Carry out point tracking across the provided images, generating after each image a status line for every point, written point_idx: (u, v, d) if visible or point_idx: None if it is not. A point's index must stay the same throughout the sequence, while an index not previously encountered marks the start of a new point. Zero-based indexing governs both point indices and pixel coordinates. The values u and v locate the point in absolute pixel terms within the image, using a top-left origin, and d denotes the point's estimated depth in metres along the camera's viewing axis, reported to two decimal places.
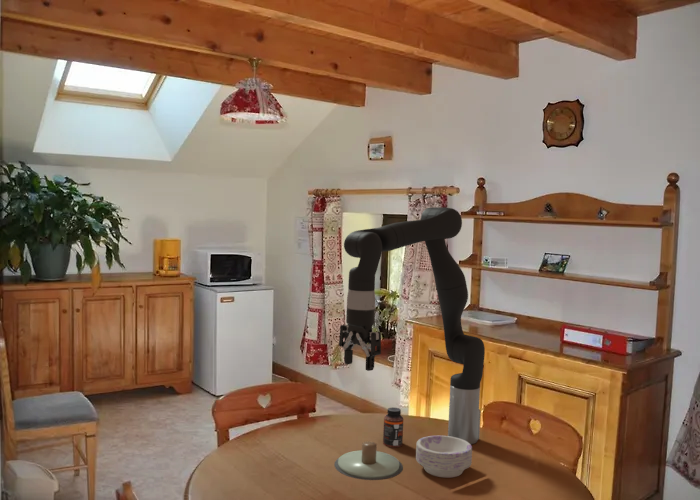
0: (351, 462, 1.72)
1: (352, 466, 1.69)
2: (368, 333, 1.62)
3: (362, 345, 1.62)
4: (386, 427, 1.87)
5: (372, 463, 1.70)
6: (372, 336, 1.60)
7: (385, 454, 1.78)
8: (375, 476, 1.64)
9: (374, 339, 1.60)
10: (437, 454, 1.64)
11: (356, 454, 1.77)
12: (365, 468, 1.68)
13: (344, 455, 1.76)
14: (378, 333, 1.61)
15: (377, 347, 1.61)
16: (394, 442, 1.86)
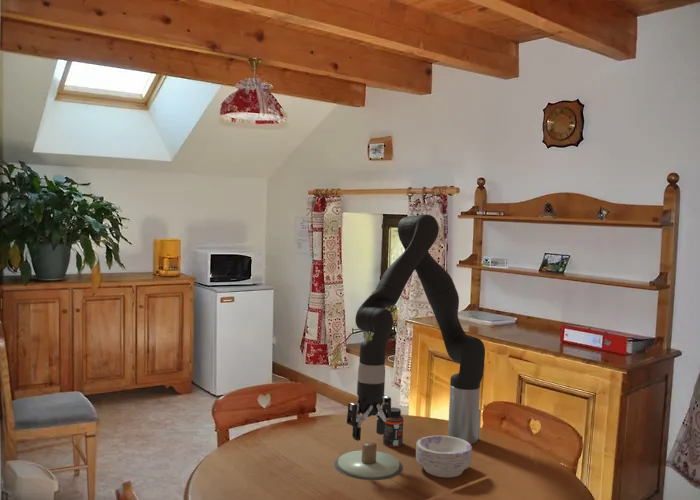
0: (351, 462, 1.72)
1: (352, 466, 1.69)
2: None
3: (381, 413, 1.72)
4: (386, 427, 1.87)
5: (372, 463, 1.70)
6: (389, 400, 1.75)
7: (385, 454, 1.78)
8: (375, 476, 1.64)
9: None
10: (437, 454, 1.64)
11: (356, 454, 1.77)
12: (365, 468, 1.68)
13: (344, 455, 1.76)
14: None
15: (384, 410, 1.76)
16: (394, 442, 1.86)
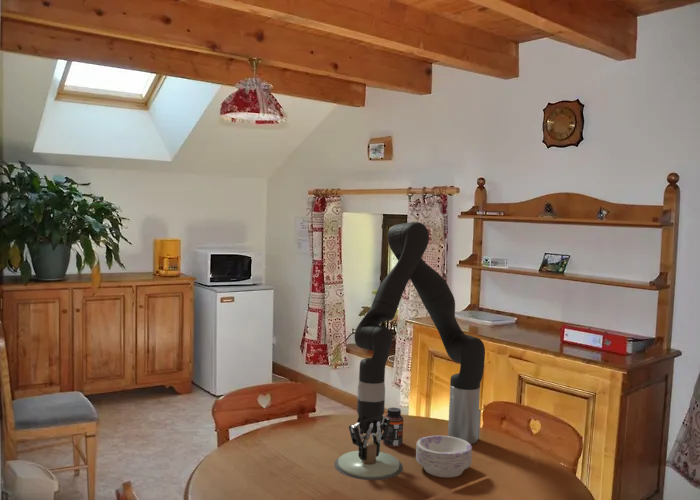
0: (351, 462, 1.72)
1: (352, 466, 1.69)
2: None
3: (379, 433, 1.72)
4: None
5: (372, 463, 1.70)
6: (388, 422, 1.75)
7: (385, 454, 1.78)
8: (375, 476, 1.64)
9: None
10: (437, 454, 1.64)
11: (356, 454, 1.77)
12: (365, 468, 1.68)
13: (344, 455, 1.76)
14: None
15: None
16: (394, 442, 1.86)
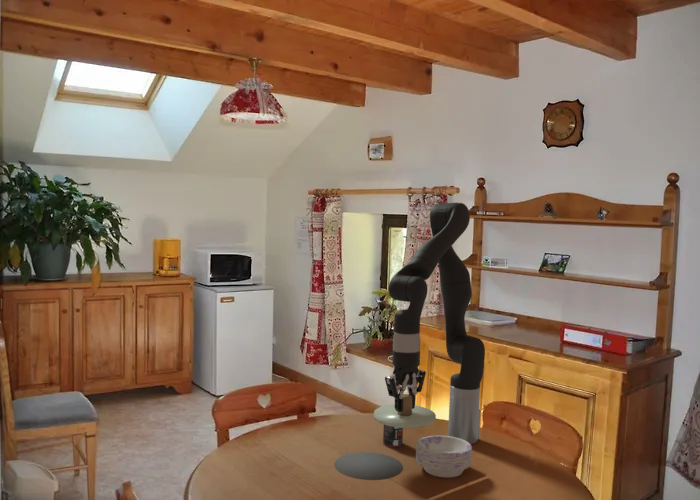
0: (387, 414, 1.71)
1: (388, 417, 1.68)
2: None
3: (415, 385, 1.71)
4: (386, 427, 1.87)
5: (408, 415, 1.70)
6: (424, 374, 1.74)
7: (420, 407, 1.77)
8: (412, 426, 1.63)
9: None
10: (437, 454, 1.64)
11: (391, 407, 1.77)
12: (402, 419, 1.67)
13: (379, 408, 1.76)
14: None
15: None
16: (394, 442, 1.86)
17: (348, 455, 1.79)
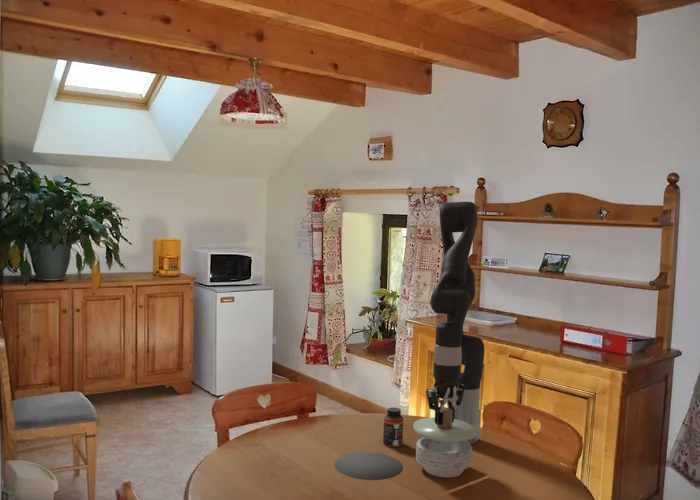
0: (427, 427, 1.70)
1: (429, 431, 1.67)
2: None
3: (455, 398, 1.70)
4: (386, 427, 1.87)
5: (448, 428, 1.69)
6: (463, 388, 1.73)
7: (458, 421, 1.76)
8: (454, 440, 1.62)
9: None
10: (437, 454, 1.64)
11: (430, 420, 1.76)
12: (443, 433, 1.66)
13: (418, 421, 1.75)
14: None
15: None
16: (394, 442, 1.86)
17: (348, 455, 1.79)
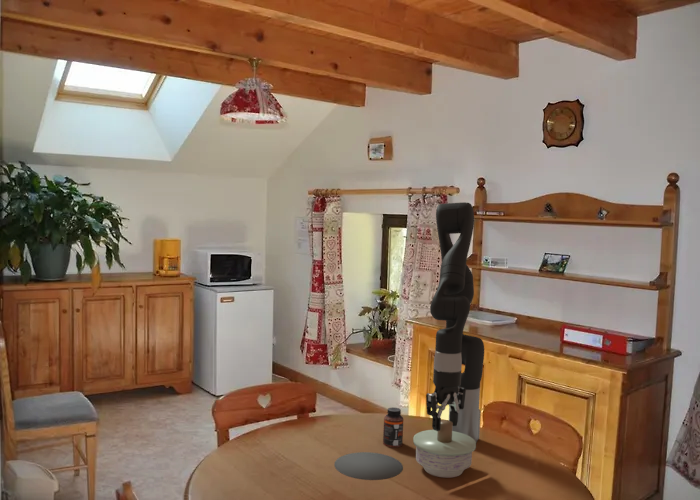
0: (427, 440, 1.70)
1: (429, 444, 1.67)
2: None
3: (457, 403, 1.71)
4: (386, 427, 1.87)
5: (449, 441, 1.69)
6: (464, 391, 1.73)
7: (459, 433, 1.76)
8: (454, 454, 1.63)
9: None
10: None
11: (430, 433, 1.76)
12: (443, 446, 1.66)
13: (418, 434, 1.75)
14: None
15: None
16: (394, 442, 1.86)
17: (348, 455, 1.79)
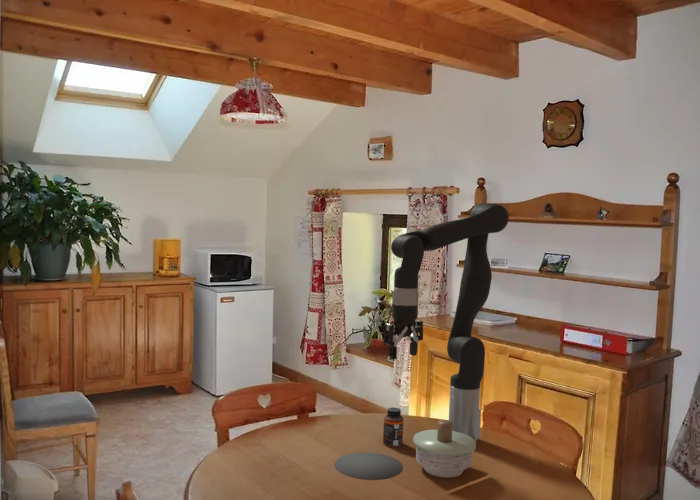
0: (427, 440, 1.70)
1: (429, 444, 1.67)
2: None
3: (415, 335, 1.85)
4: (386, 427, 1.87)
5: (448, 441, 1.69)
6: (421, 324, 1.87)
7: (458, 433, 1.76)
8: (454, 454, 1.62)
9: None
10: None
11: (430, 433, 1.76)
12: (443, 446, 1.66)
13: (418, 434, 1.75)
14: None
15: (416, 333, 1.89)
16: (394, 442, 1.86)
17: (348, 455, 1.79)
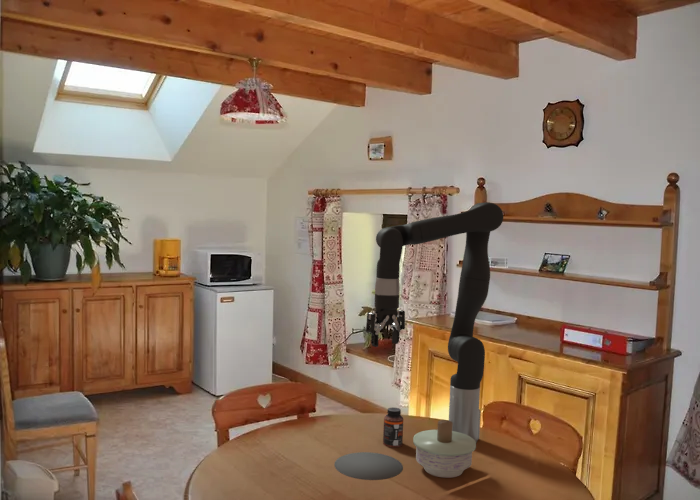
0: (427, 440, 1.70)
1: (429, 444, 1.67)
2: None
3: (396, 323, 1.92)
4: (386, 427, 1.87)
5: (448, 441, 1.69)
6: (403, 313, 1.94)
7: (459, 433, 1.76)
8: (454, 454, 1.62)
9: None
10: None
11: (430, 433, 1.76)
12: (443, 446, 1.66)
13: (418, 434, 1.75)
14: None
15: (398, 322, 1.96)
16: (394, 442, 1.86)
17: (348, 455, 1.79)
